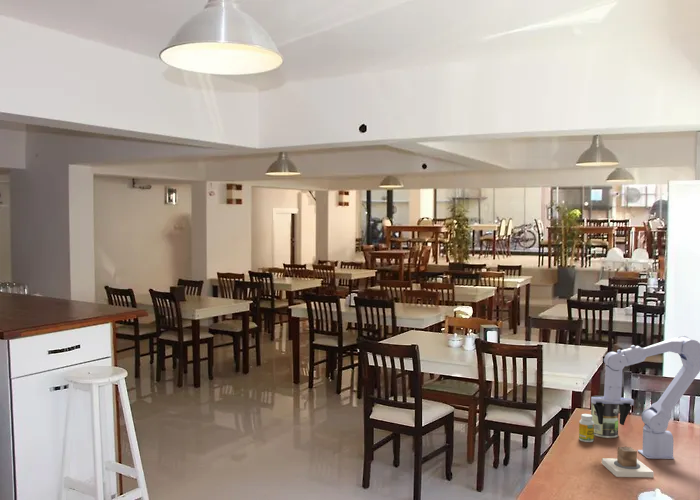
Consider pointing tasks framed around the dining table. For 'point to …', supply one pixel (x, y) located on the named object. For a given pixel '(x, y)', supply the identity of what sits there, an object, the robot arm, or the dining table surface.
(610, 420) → the coffee can
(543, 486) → the dining table surface
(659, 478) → the dining table surface
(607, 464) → the base board
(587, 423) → the supplement bottle
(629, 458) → the walnut block
